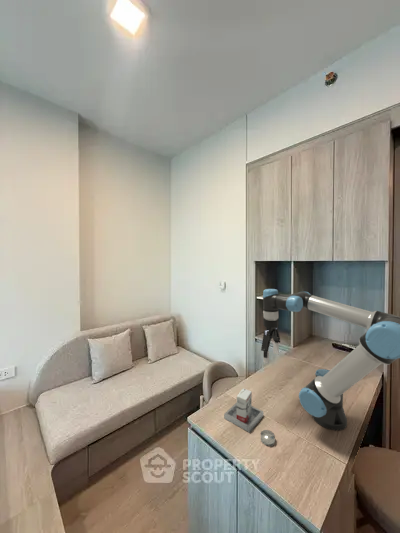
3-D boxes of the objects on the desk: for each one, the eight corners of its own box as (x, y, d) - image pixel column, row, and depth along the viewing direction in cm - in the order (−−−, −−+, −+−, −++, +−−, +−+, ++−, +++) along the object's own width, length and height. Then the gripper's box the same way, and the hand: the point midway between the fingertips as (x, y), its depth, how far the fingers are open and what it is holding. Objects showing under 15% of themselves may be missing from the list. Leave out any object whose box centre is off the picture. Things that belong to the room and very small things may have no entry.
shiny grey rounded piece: (276, 438, 98) (276, 432, 98) (273, 448, 93) (273, 442, 93) (262, 433, 101) (262, 428, 101) (259, 443, 96) (259, 437, 96)
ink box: (245, 423, 106) (245, 399, 106) (236, 419, 109) (236, 396, 109) (251, 413, 114) (251, 390, 113) (242, 409, 116) (242, 387, 116)
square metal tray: (263, 416, 112) (263, 411, 112) (249, 432, 101) (249, 427, 101) (239, 404, 121) (239, 399, 121) (224, 418, 111) (224, 413, 111)
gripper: (272, 312, 129) (273, 349, 130) (253, 323, 110) (254, 365, 110) (285, 314, 124) (286, 352, 125) (268, 325, 105) (269, 370, 106)
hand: (271, 358), depth 118 cm, fingers open, 13 cm apart
